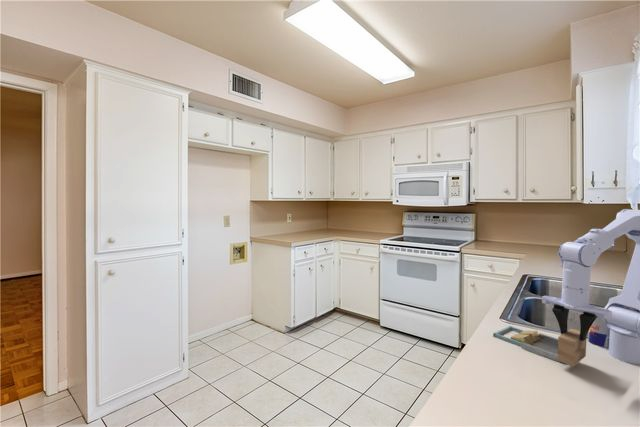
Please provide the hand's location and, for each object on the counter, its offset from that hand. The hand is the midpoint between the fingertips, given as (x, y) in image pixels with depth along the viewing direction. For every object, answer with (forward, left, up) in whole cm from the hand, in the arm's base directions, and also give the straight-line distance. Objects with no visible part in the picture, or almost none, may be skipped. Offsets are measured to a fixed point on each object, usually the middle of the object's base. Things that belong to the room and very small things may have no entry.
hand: (573, 336), depth 83 cm
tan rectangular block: (0, 0, -6) cm, 6 cm away
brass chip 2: (-8, -13, -8) cm, 18 cm away
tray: (-6, -17, -9) cm, 20 cm away
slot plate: (-6, -7, -9) cm, 13 cm away
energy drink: (-24, 0, -10) cm, 25 cm away
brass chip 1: (-3, -14, -8) cm, 16 cm away
